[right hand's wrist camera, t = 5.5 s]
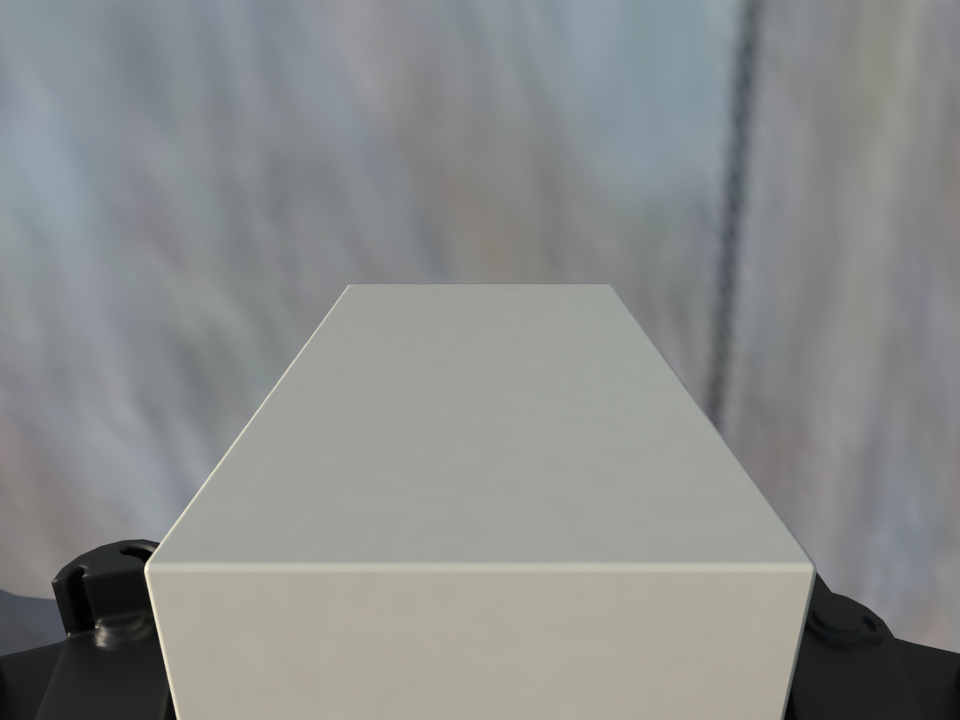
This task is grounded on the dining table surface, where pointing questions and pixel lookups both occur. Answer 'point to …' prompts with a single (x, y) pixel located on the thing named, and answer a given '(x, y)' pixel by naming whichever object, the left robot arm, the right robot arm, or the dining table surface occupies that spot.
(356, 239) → the dining table surface
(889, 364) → the dining table surface
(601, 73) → the dining table surface
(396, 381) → the bar
